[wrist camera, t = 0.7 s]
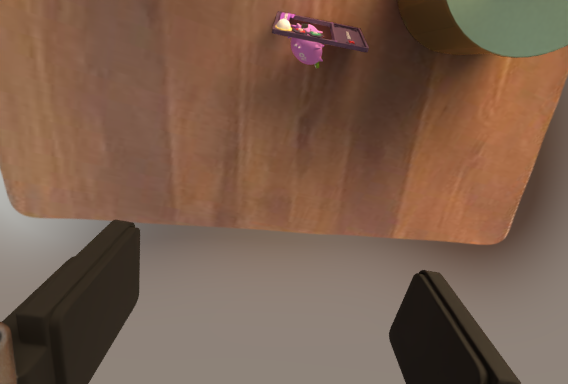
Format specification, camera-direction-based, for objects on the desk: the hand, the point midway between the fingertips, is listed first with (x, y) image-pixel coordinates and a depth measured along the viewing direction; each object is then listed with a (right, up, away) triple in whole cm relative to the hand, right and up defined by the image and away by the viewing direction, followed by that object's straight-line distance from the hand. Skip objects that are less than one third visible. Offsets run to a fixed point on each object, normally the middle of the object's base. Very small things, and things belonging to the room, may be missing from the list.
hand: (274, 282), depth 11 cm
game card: (+4, +19, +24) cm, 31 cm away
